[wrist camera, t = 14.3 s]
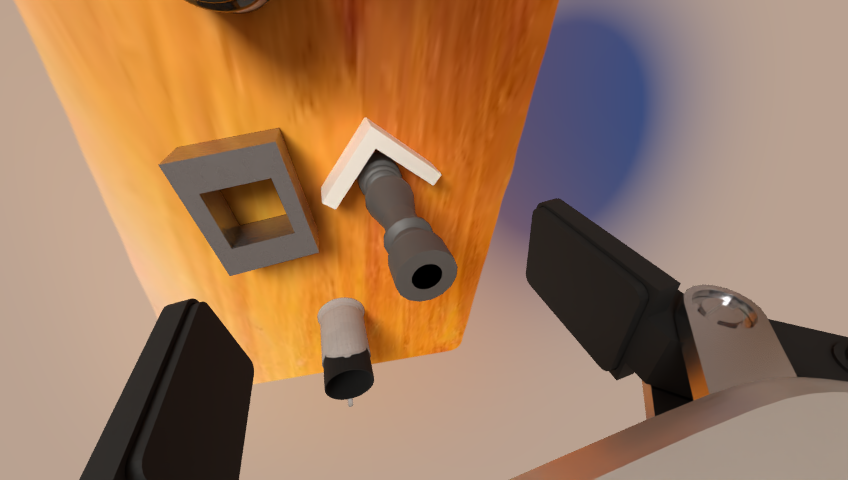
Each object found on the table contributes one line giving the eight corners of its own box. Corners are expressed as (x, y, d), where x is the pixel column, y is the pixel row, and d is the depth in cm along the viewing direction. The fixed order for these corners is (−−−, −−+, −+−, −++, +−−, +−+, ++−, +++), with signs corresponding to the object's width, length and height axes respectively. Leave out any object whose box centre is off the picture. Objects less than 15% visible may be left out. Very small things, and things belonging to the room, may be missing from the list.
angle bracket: (301, 129, 41) (300, 140, 37) (424, 105, 44) (436, 112, 40) (323, 196, 47) (325, 212, 43) (431, 170, 50) (442, 183, 46)
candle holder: (361, 196, 49) (400, 312, 29) (350, 158, 45) (385, 260, 25) (400, 185, 50) (462, 290, 30) (392, 147, 46) (457, 238, 26)
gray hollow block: (176, 147, 38) (158, 164, 33) (279, 127, 40) (275, 141, 36) (237, 251, 48) (229, 276, 43) (317, 230, 50) (319, 252, 45)
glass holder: (364, 294, 60) (378, 361, 48) (364, 344, 67) (377, 412, 55) (315, 301, 57) (317, 373, 45) (321, 352, 65) (325, 425, 53)
